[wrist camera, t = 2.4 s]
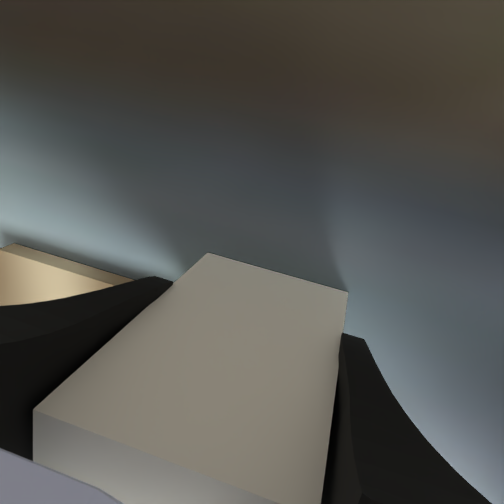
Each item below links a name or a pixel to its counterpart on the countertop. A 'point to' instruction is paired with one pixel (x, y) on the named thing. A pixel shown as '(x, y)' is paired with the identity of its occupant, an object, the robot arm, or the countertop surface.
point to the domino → (205, 394)
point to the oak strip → (46, 276)
